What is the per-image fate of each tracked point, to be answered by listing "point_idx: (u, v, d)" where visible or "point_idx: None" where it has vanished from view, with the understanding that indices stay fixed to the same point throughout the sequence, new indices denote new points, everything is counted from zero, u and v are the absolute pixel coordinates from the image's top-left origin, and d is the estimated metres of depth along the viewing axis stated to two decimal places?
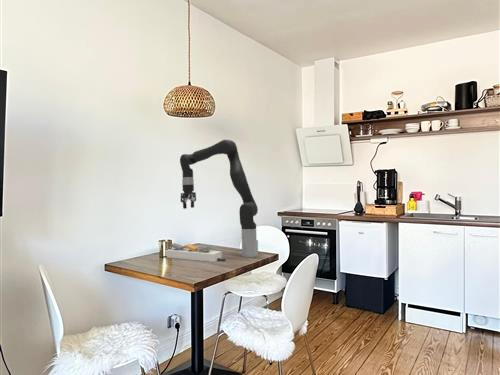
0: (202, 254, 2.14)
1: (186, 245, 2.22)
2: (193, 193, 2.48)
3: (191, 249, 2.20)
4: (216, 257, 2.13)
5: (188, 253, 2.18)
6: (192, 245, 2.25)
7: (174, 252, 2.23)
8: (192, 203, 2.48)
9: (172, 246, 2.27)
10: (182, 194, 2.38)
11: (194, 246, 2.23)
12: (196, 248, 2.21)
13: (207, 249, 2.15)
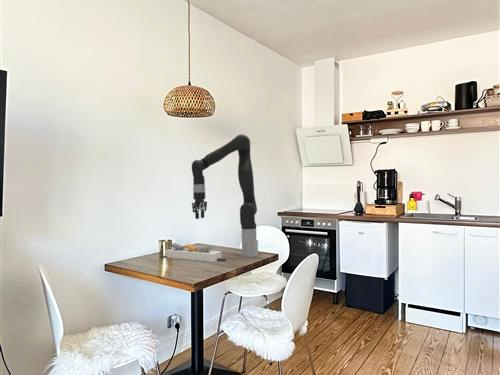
0: (202, 254, 2.14)
1: (186, 245, 2.22)
2: (204, 202, 2.34)
3: (191, 249, 2.20)
4: (216, 257, 2.13)
5: (188, 253, 2.18)
6: (192, 245, 2.25)
7: (174, 252, 2.23)
8: (202, 213, 2.32)
9: (172, 246, 2.27)
10: (193, 204, 2.24)
11: (194, 246, 2.23)
12: (196, 248, 2.21)
13: (207, 249, 2.15)
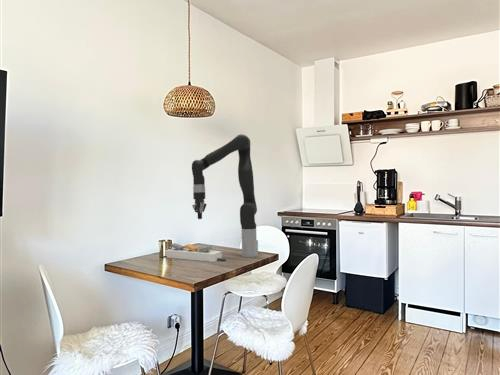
0: (202, 254, 2.14)
1: (186, 245, 2.22)
2: (204, 203, 2.34)
3: (191, 249, 2.20)
4: (216, 257, 2.13)
5: (188, 253, 2.18)
6: (192, 245, 2.25)
7: (174, 252, 2.23)
8: None
9: (172, 246, 2.27)
10: (194, 206, 2.24)
11: (194, 246, 2.23)
12: (196, 248, 2.21)
13: (207, 249, 2.15)
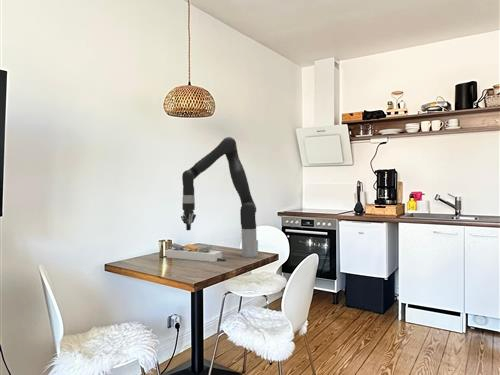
0: (202, 254, 2.14)
1: (186, 245, 2.22)
2: (193, 214, 2.29)
3: (191, 249, 2.20)
4: (216, 257, 2.13)
5: (188, 253, 2.18)
6: (192, 245, 2.25)
7: (174, 252, 2.23)
8: None
9: (172, 246, 2.27)
10: (183, 218, 2.20)
11: (194, 246, 2.23)
12: (196, 248, 2.21)
13: (207, 249, 2.15)
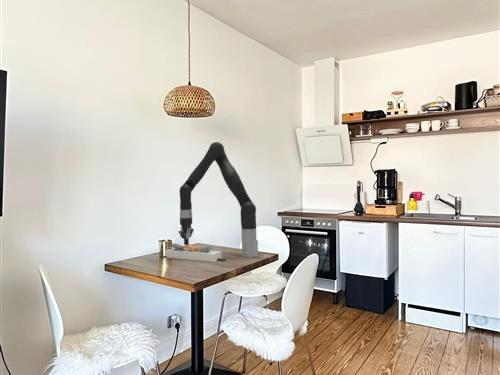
0: (202, 254, 2.14)
1: (186, 245, 2.22)
2: (191, 228, 2.28)
3: (191, 249, 2.20)
4: (216, 257, 2.13)
5: (188, 253, 2.18)
6: (192, 245, 2.25)
7: (174, 252, 2.23)
8: None
9: (172, 246, 2.27)
10: (180, 233, 2.19)
11: (194, 246, 2.24)
12: (196, 248, 2.21)
13: (207, 249, 2.15)
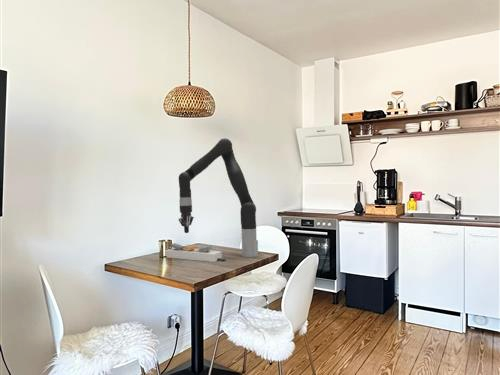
0: (202, 254, 2.14)
1: (185, 247, 2.23)
2: (191, 216, 2.28)
3: (190, 248, 2.20)
4: (216, 257, 2.13)
5: (188, 253, 2.18)
6: None
7: (174, 252, 2.23)
8: None
9: (172, 246, 2.27)
10: (180, 220, 2.18)
11: None
12: (195, 246, 2.21)
13: (207, 249, 2.15)
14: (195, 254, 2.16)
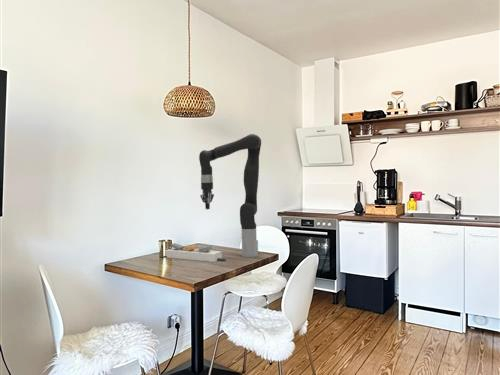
0: (202, 254, 2.14)
1: (185, 247, 2.23)
2: (211, 194, 2.35)
3: (190, 248, 2.20)
4: (216, 257, 2.13)
5: (188, 253, 2.18)
6: None
7: (174, 252, 2.23)
8: None
9: (172, 246, 2.27)
10: (202, 196, 2.25)
11: None
12: (195, 246, 2.21)
13: (207, 249, 2.15)
14: (195, 254, 2.16)
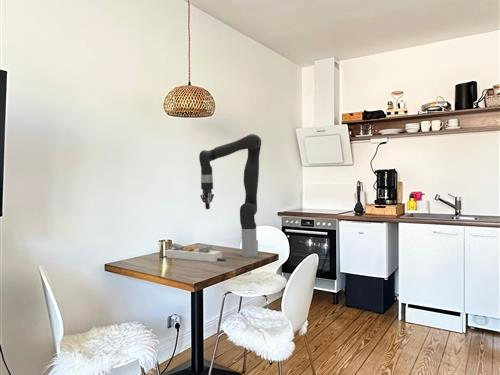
0: (202, 254, 2.14)
1: (185, 247, 2.23)
2: (211, 194, 2.35)
3: (190, 248, 2.20)
4: (216, 257, 2.13)
5: (188, 253, 2.18)
6: None
7: (174, 252, 2.23)
8: None
9: (172, 246, 2.27)
10: (202, 196, 2.25)
11: None
12: (195, 246, 2.21)
13: (207, 249, 2.15)
14: (195, 254, 2.16)
